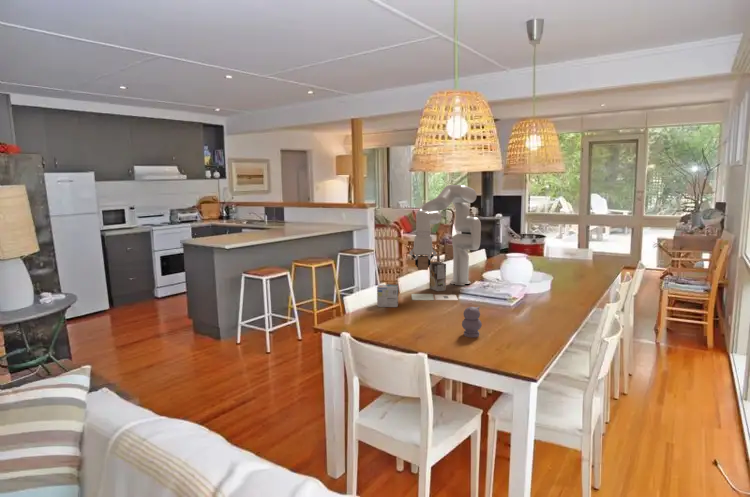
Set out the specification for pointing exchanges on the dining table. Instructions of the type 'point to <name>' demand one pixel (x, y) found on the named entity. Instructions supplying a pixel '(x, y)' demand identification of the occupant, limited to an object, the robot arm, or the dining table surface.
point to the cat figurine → (471, 322)
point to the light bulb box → (387, 295)
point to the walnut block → (422, 263)
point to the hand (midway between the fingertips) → (422, 266)
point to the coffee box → (438, 276)
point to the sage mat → (422, 297)
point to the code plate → (446, 297)
